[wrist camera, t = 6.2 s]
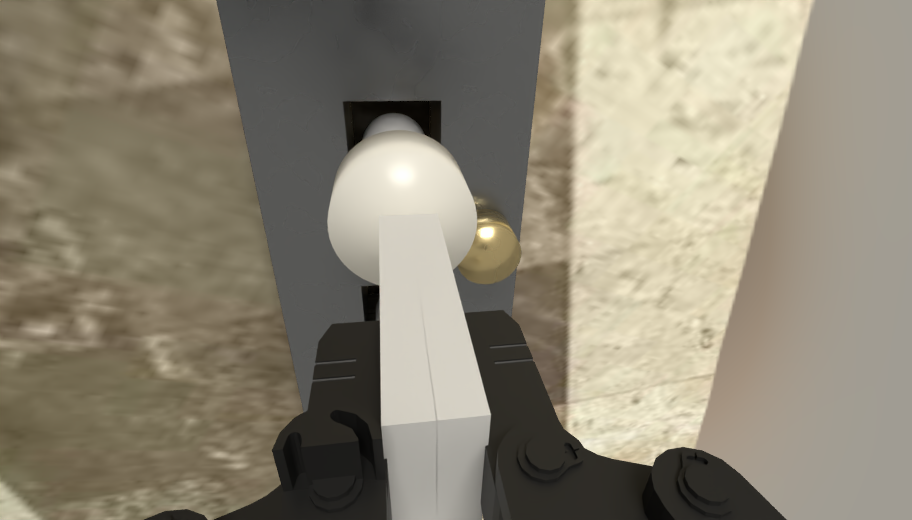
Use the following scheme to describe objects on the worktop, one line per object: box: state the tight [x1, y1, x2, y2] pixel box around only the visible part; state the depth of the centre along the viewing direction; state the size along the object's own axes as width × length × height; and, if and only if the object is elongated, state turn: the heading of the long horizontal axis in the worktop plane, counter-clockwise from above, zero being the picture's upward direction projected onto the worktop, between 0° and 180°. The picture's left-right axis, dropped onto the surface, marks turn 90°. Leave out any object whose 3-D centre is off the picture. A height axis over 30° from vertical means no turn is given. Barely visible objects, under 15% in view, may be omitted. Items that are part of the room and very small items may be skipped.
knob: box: [327, 113, 477, 285], centre depth 17 cm, size 4×4×8 cm
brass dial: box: [458, 209, 521, 284], centre depth 22 cm, size 3×3×2 cm
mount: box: [216, 0, 545, 412], centre depth 27 cm, size 30×12×5 cm, turn 179°
